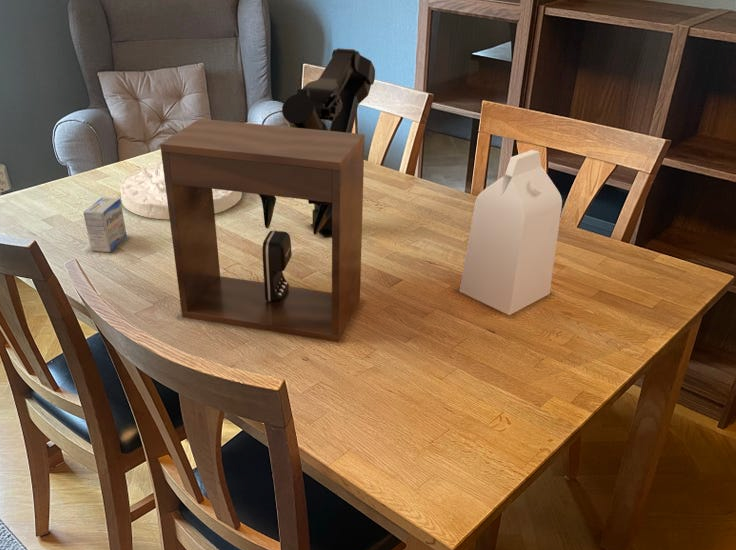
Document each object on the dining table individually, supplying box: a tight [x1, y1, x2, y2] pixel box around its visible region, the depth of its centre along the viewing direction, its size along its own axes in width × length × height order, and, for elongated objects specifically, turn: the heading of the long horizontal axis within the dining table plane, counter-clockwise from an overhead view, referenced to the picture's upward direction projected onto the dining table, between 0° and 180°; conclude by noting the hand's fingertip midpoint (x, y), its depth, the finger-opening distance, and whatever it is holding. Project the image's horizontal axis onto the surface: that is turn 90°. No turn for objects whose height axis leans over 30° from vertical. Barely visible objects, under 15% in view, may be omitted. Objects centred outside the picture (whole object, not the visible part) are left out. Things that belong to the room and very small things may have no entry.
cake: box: [119, 161, 243, 220], centre depth 172 cm, size 28×28×10 cm
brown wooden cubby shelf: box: [159, 118, 365, 343], centre depth 122 cm, size 14×28×30 cm, turn 74°
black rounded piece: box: [261, 229, 293, 301], centre depth 130 cm, size 7×4×11 cm, turn 170°
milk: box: [458, 149, 563, 316], centre depth 129 cm, size 12×12×26 cm
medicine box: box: [83, 197, 128, 253], centre depth 150 cm, size 8×4×9 cm, turn 168°
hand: (290, 230), depth 134 cm, fingers open, 9 cm apart
